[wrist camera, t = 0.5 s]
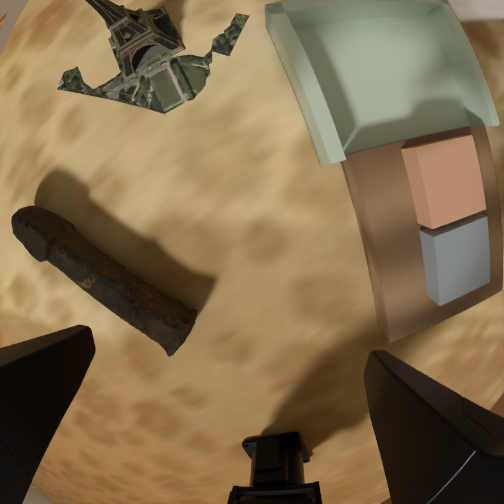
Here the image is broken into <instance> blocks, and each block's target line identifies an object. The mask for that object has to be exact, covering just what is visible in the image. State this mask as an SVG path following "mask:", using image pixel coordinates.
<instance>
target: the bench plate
mask: <svg viewBox="0 0 504 504" xmlns="http://www.w3.org/2000/svg"><path fill="white" fill-rule="evenodd" d="M467 135H472V136H473V140H474V144H475V148H476V152H477V157H478V161H479V166H480V171H481V177H482V182H483V189H484V195H485V203H486V209H485V210H483V211H480V212H478V214H481V215H485V216H487V220H488V232H489V248H490V282H488V283H487V284H485V285H483V286H481V287H479V288H477V289H475V290H473V291H471V292H469V293H467V294H465V295H463V296H461V297H459V298H456V299H454V300H452V301H450V302H448V303H446V304H443V305H441V306H439V305H438V304H437V303H436V302H435V301H433V300H432V299H431V298H430V297H429V296H428V295H427V288H426V277H425V268H424V260H423V252H422V245H421V239H420V232H419V230H421V229H424V228H427V227H426V226H423V225H421V224H419V223H418V221H417V215H416V210H415V205H414V200H413V196H412V191H411V187H410V183H409V179H408V175H407V171H406V167H405V163H404V159H403V156H402V152H401V149H404V148H408V147H412V146H416V145H421V144H425V143H429V142H434V141H438V140H443V139H447V138H452V137H458V136H467ZM345 157H346V160H344V161H341V164H342V168H343V171H344V174H345V177H346V181H347V184H348V188H349V191H350V195H351V198H352V202H353V206H354V209H355V213H356V217H357V221H358V225H359V229H360V233H361V237H362V242H363V246H364V250H365V255H366V259H367V264H368V269H369V274H370V279H371V284H372V290H373V295H374V301H375V307H376V313H377V319H378V325H379V326H380V328H381V329H382V331H383V333H384V334H385V336H386V337H387V339H388V341H389V342H390V343H392V342H394V341H397V340H400V339H402V338H405V337H407V336H409V335H412V334H414V333H417V332H419V331H421V330H424V329H426V328H428V327H431V326H433V325H435V324H437V323H440V322H442V321H444V320H446V319H448V318H450V317H452V316H454V315H456V314H459V313H461V312H463V311H465V310H467V309H469V308H471V307H472V306H474V305H476V304H478V303H480V302H482V301H484V300H486V299H488V298H489V297H491V296H493V295H495V294H496V293H498V292H500V291H502V284H503V240H502V223H501V212H500V202H499V194H498V187H497V180H496V174H495V169H494V163H493V158H492V153H491V149H490V144H489V140H488V136H487V132H486V128H485V125H484V124H483V125H475V126H468V127H462V128H457V129H452V130H447V131H442V132H437V133H432V134H427V135H423V136H418V137H414V138H409V139H405V140H401V141H396V142H392V143H388V144H384V145H380V146H376V147H372V148H368V149H364V150H361V151H357V152H353V153H349V154H346V155H345Z"/></svg>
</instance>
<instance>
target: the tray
mask: <svg viewBox="0 0 504 504" xmlns="http://www.w3.org/2000/svg"><path fill="white" fill-rule="evenodd" d="M265 16H266V29H267V31H268V33H269V35H270V37H271V39H272V41H273V44H274V46H275V48H276V50H277V53H278V55H279V57H280V59H281V62H282V64H283V66H284V69H285V71H286V73H287V76H288V78H289V81H290V83H291V86H292V88H293V91H294V93H295V96H296V98H297V101H298V103H299V106H300V109H301V111H302V114H303V117H304V119H305V122H306V125H307V127H308V130H309V133H310V136H311V139H312V142H313V145H314V147H315V150H316V153H317V156H318V159H319V162H320V165H328V164H333V163H337V162H340V161H344V160H346V157H345V155H346V154H349V153H353V152H357V151H361V150H364V149H368V148H372V147H376V146H380V145H384V144H388V143H392V142H396V141H401V140H405V139H409V138H414V137H418V136H423V135H427V134H432V133H437V132H442V131H447V130H452V129H457V128H462V127H468V126H475V125H483V124H484V125H485V127H493V126H499V125H500V123H499V119H498V116H497V112H496V109H495V106H494V102H493V99H492V96H491V93H490V90H489V87H488V85H487V82H486V79H485V77H484V74H483V71H482V69H481V66H480V64H479V62H478V59H477V57H476V55H475V52H474V50H473V48H472V46H471V44H470V42H469V40H468V37H467V35H466V33H465V31H464V30H463V28H462V26H461V24H460V22H459V20H458V18H457V16H456V15H455V13H454V11H453V9H452V8H451V6H450V4H449V3H448V1H447V0H286V1H281V2H276V3H271V4H267V5H265Z"/></svg>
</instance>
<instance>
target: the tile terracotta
mask: <svg viewBox="0 0 504 504" xmlns="http://www.w3.org/2000/svg"><path fill="white" fill-rule="evenodd" d="M401 152H402V156H403V159H404V163H405V167H406V171H407V175H408V179H409V183H410V187H411V191H412V196H413V200H414V205H415V210H416V215H417V221H418V223H419V224H421V225H423V226H426V227H428V228H430V229H435V228H438V227H440V226H443V225H446V224H448V223H451V222H454V221H457V220H459V219H462V218H464V217H467V216H470V215H472V214H475V213H478V212H480V211H483V210H485V209H486V203H485V195H484V189H483V182H482V177H481V171H480V166H479V161H478V157H477V152H476V148H475V144H474V140H473V136H472V135H467V136H458V137H452V138H447V139H443V140H438V141H434V142H429V143H425V144H421V145H416V146H412V147H408V148H404V149H401Z"/></svg>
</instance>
